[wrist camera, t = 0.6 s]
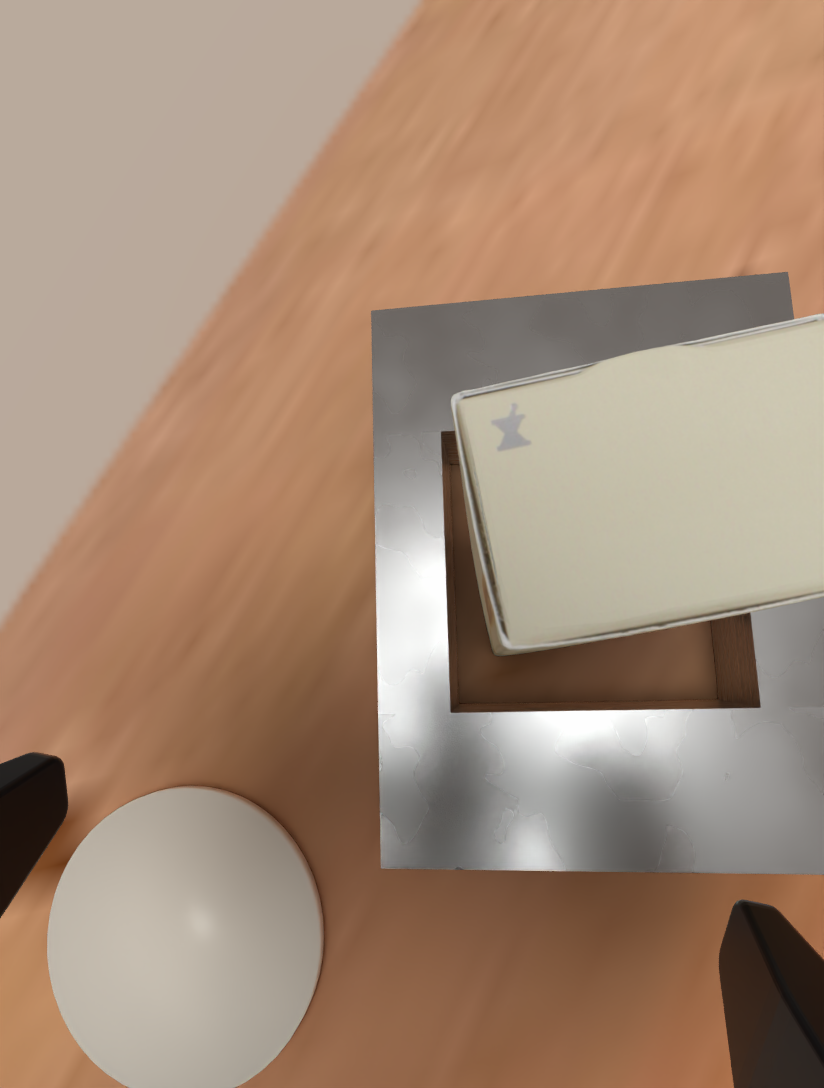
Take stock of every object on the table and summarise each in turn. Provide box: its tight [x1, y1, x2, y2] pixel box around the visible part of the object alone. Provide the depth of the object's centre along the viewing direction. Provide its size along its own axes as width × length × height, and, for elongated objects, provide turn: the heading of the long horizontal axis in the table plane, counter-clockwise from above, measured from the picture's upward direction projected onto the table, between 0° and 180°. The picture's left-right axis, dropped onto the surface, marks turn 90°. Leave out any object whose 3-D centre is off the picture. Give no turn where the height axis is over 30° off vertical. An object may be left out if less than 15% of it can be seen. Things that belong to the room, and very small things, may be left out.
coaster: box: [47, 786, 324, 1088], centre depth 21 cm, size 9×9×1 cm
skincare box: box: [451, 314, 824, 656], centre depth 16 cm, size 6×4×12 cm
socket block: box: [371, 272, 824, 875], centre depth 20 cm, size 16×12×4 cm
